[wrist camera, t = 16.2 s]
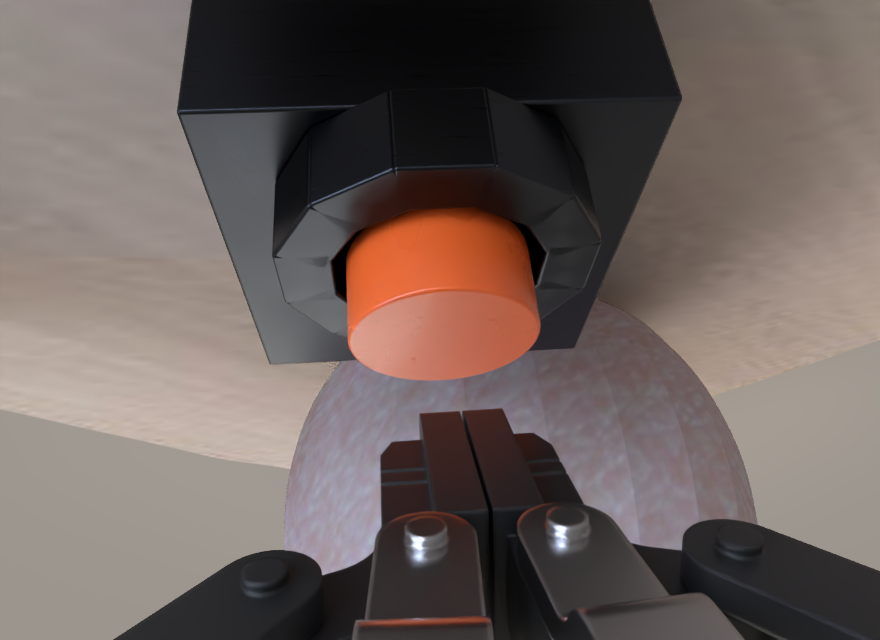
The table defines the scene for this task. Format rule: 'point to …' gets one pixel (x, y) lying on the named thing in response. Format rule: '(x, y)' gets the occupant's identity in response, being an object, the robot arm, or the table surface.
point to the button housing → (419, 140)
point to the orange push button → (440, 294)
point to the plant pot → (531, 411)
